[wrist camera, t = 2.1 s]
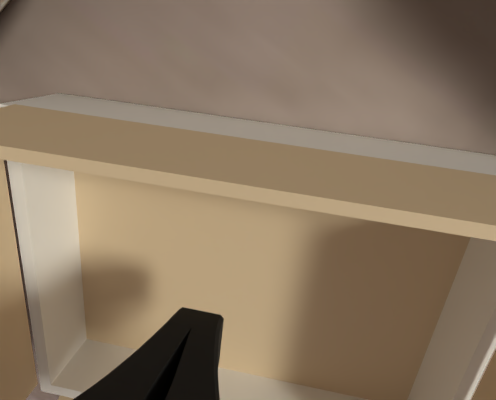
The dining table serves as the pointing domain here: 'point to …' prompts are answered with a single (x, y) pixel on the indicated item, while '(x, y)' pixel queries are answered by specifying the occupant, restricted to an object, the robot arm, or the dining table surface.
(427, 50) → the dining table surface
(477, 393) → the flap
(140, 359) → the robot arm
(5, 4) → the plant saucer
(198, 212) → the carton
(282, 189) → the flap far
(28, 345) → the flap
